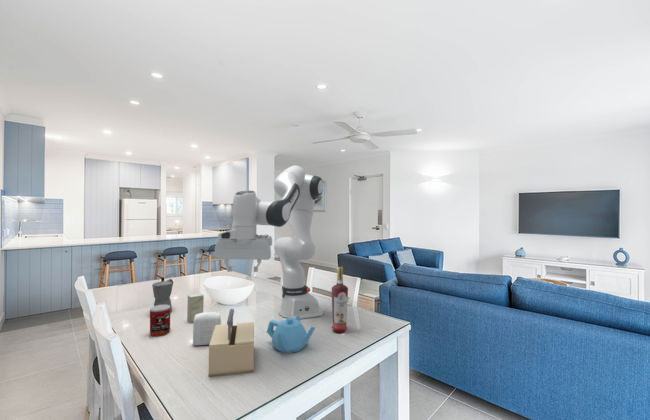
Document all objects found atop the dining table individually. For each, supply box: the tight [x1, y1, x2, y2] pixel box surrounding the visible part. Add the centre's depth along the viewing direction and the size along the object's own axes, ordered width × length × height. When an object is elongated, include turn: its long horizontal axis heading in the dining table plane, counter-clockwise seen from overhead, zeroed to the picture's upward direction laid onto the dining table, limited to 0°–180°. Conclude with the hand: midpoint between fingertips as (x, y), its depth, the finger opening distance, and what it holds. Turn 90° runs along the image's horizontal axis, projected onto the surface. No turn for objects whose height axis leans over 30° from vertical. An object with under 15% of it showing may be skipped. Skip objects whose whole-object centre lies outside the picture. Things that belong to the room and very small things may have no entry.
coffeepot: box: [151, 277, 174, 314], centre depth 154 cm, size 15×9×18 cm, turn 176°
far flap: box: [208, 308, 235, 348], centre depth 105 cm, size 7×17×7 cm, turn 13°
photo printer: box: [192, 311, 222, 347], centre depth 119 cm, size 10×4×12 cm, turn 103°
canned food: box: [149, 305, 171, 337], centre depth 129 cm, size 8×8×11 cm
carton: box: [208, 321, 255, 377], centre depth 106 cm, size 14×18×10 cm
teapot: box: [266, 316, 316, 354], centre depth 118 cm, size 15×15×11 cm
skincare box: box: [186, 292, 205, 324], centre depth 143 cm, size 6×4×12 cm
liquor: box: [331, 266, 349, 334], centre depth 133 cm, size 7×7×28 cm
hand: (242, 271), depth 111 cm, fingers open, 8 cm apart
